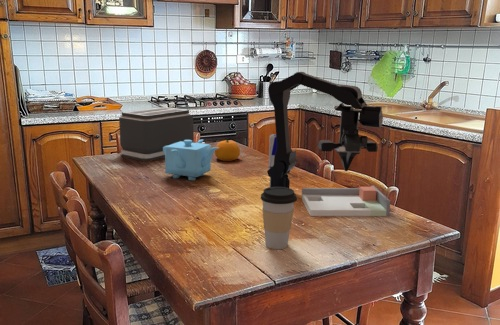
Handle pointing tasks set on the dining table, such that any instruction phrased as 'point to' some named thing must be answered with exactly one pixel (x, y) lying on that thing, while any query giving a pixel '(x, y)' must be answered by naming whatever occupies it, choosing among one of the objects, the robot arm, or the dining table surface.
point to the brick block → (367, 193)
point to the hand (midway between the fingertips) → (345, 170)
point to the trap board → (343, 202)
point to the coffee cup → (277, 215)
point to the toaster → (153, 131)
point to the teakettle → (188, 159)
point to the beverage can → (272, 149)
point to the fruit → (227, 150)
